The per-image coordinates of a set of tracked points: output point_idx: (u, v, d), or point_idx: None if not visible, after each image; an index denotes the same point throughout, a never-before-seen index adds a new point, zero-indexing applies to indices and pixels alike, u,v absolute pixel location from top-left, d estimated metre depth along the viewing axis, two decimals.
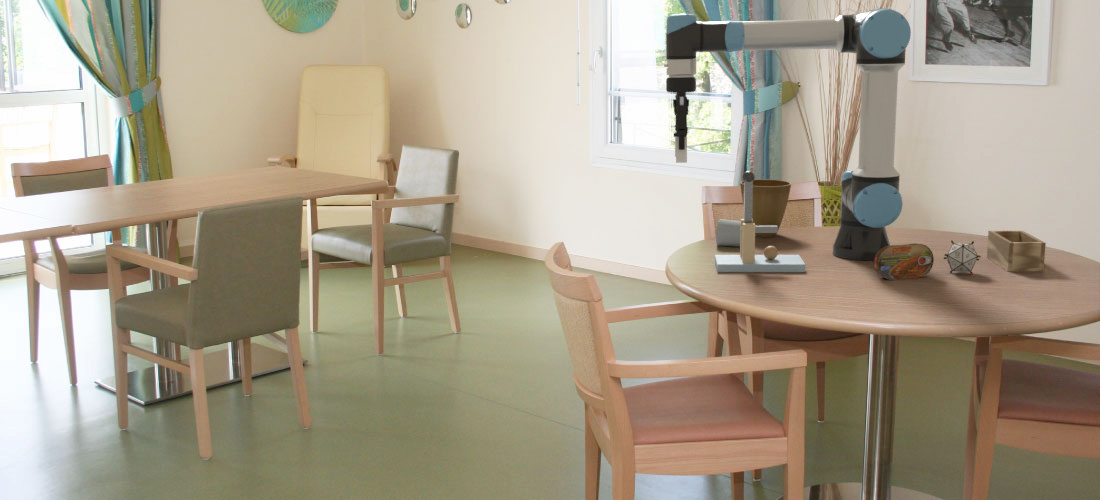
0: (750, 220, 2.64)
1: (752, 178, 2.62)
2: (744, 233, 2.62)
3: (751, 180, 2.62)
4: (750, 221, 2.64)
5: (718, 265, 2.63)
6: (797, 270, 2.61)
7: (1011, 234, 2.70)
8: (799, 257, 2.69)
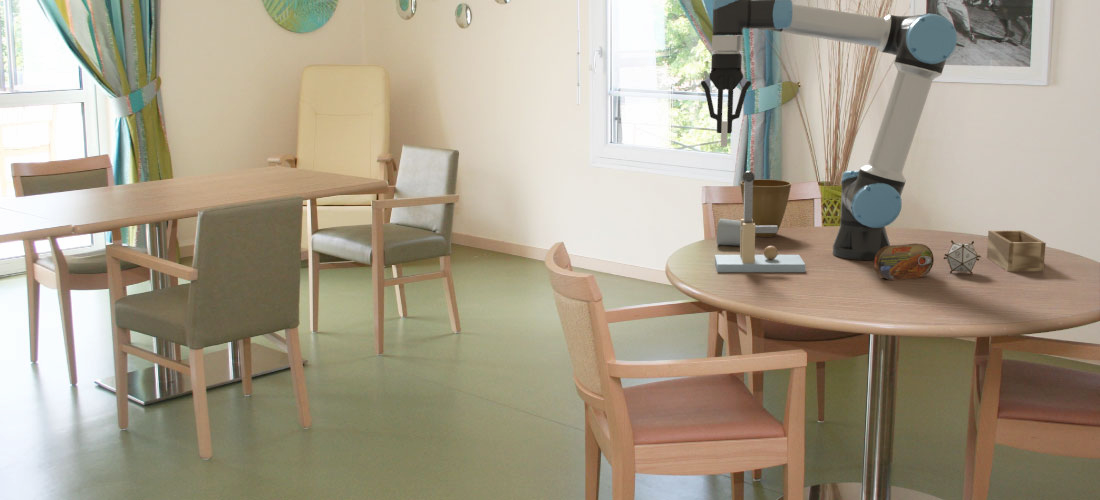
0: (750, 220, 2.64)
1: (752, 178, 2.62)
2: (744, 233, 2.62)
3: (751, 180, 2.62)
4: (750, 221, 2.64)
5: (718, 265, 2.63)
6: (797, 270, 2.61)
7: (1011, 234, 2.70)
8: (799, 257, 2.69)
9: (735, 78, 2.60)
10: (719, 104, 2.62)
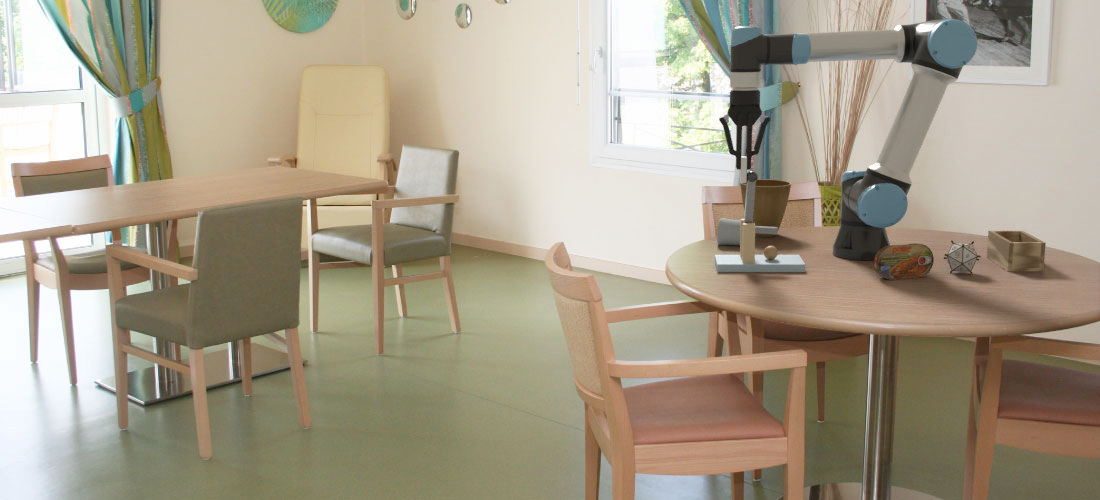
0: (751, 220, 2.64)
1: (755, 178, 2.62)
2: (744, 233, 2.62)
3: (754, 180, 2.62)
4: (750, 221, 2.64)
5: (718, 265, 2.63)
6: (797, 270, 2.61)
7: (1011, 234, 2.70)
8: (799, 257, 2.69)
9: (754, 114, 2.59)
10: (738, 140, 2.61)
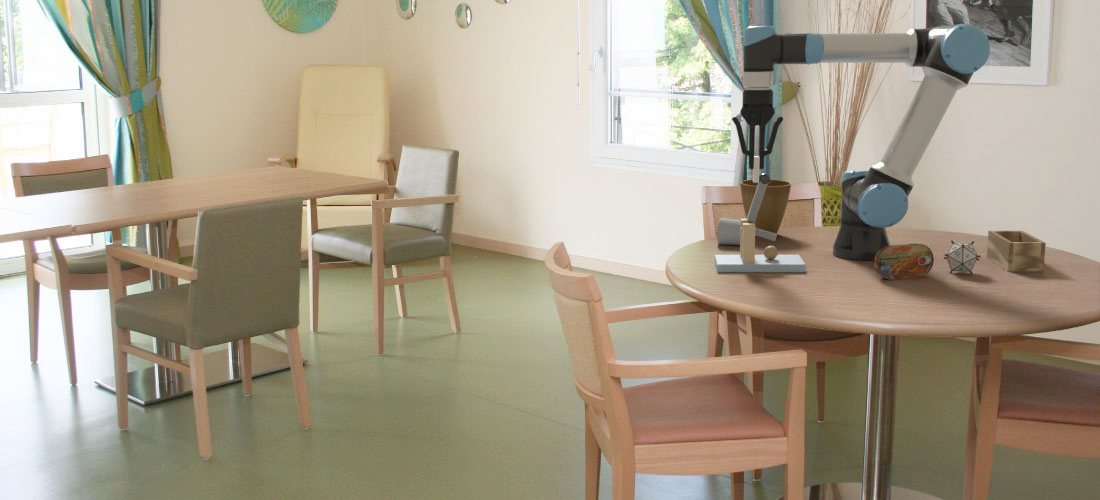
0: (753, 221, 2.64)
1: (767, 181, 2.62)
2: (744, 233, 2.62)
3: (766, 183, 2.62)
4: (752, 222, 2.64)
5: (718, 265, 2.63)
6: (797, 270, 2.61)
7: (1011, 234, 2.70)
8: (799, 257, 2.69)
9: (767, 114, 2.59)
10: (751, 140, 2.60)
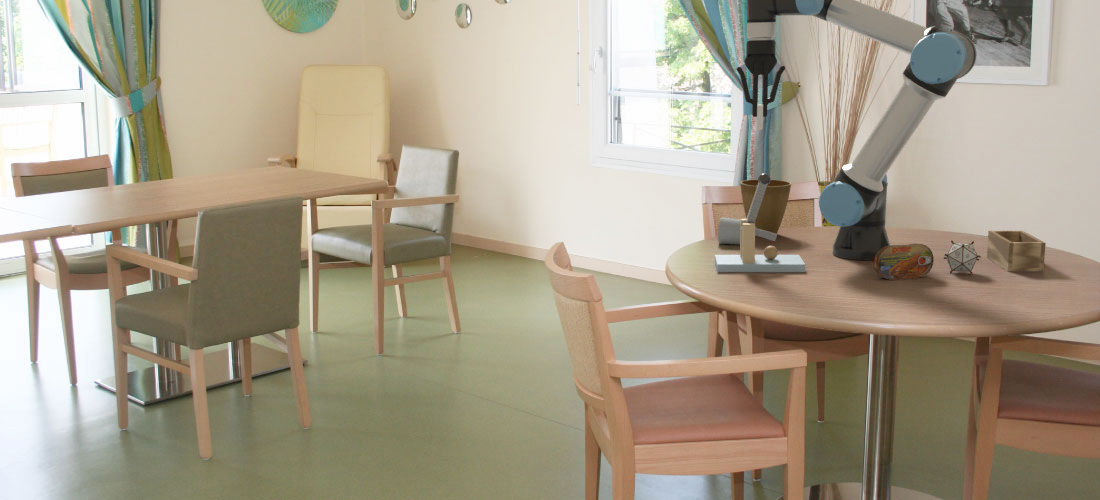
0: (753, 221, 2.64)
1: (767, 181, 2.62)
2: (744, 233, 2.62)
3: (766, 183, 2.62)
4: (752, 222, 2.64)
5: (718, 265, 2.63)
6: (797, 270, 2.61)
7: (1011, 234, 2.70)
8: (799, 257, 2.69)
9: (770, 63, 2.71)
10: (755, 89, 2.73)
